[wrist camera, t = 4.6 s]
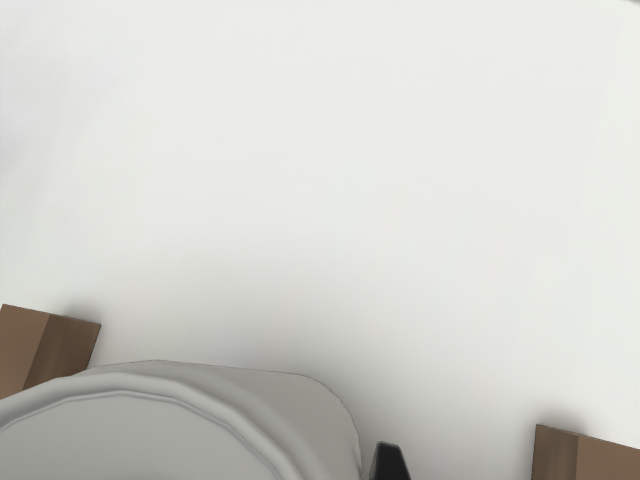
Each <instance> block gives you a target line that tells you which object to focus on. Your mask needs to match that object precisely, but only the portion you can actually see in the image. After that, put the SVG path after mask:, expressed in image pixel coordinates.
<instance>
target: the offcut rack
mask: <svg viewBox="0 0 640 480" xmlns="http://www.w3.org/2000/svg"><path fill="white" fill-rule="evenodd" d="M100 326H101V325H100V324H96V323H91V322H87V321H83V320H78V319H74V318H69V317H65V316H61V315H56V314H51V313H46V312H41V311H36V310H31V309H26V308H21V307H17V306H12V305H7V304H3V305H2V308H1V310H0V400H1V399H4V398H7V397H9V396H12V395H14V394H17V393H19V392H22V391H24V390H27V389H29V388H32V387H34V386H37V385H39V384H42V383H44V382H47V381H50V380H52V379H55V378H59V377H68V376H72V375H75V374H77V373H80V372H82V371H85V370H86V367H87V365H88V362H89V359H90V356H91V353H92V350H93V347H94V344H95V341H96V338H97V335H98V332H99V329H100ZM531 480H640V449H636V448H632V447H628V446H624V445H620V444H617V443H613V442H609V441H605V440H601V439H597V438H594V437H590V436H585V435H581V434H577V433H572V432H568V431H564V430H559V429H555V428H551V427H546V426H542V425H536V436H535V447H534V458H533V468H532V479H531Z"/></svg>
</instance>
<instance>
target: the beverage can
mask: <svg viewBox="0 0 640 480" xmlns="http://www.w3.org/2000/svg"><path fill="white" fill-rule="evenodd" d="M0 480H363V474H362V462H361V453H360V444H359V436H358V433H357V430H356V427H355V425H354V422H353V419H352V417H351V414H350V413H349V412H348V410H347V409H346V407H345V406H344V404H343V403H342V402H341V400H340V399H339V397H337V396H336V395H335V394H334V393H333V392H331V391H330V390H329V389H328V388H327V387H326V386H324V385H323V384H321V383H319V382H317V381H314V380H312V379H310V378H308V377H306V376H301V375H294V374H288V373H280V372H270V371H260V370H251V369H241V368H231V367H222V366H212V365H203V364H193V363H183V362H174V361H164V360H148V361H139V362H130V363H121V364H112V365H103V366H95V367H92V368H90V369H87V370H85V371H82V372H80V373H77V374H75V375H72V376H68V377H59V378H55V379H52V380H50V381H47V382H44V383H42V384H39V385H37V386H34V387H32V388H29V389H27V390H24V391H22V392H19V393H17V394H14V395H12V396H9V397H7V398H4V399H1V400H0Z"/></svg>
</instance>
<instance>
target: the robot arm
mask: <svg viewBox="0 0 640 480" xmlns="http://www.w3.org/2000/svg"><path fill="white" fill-rule="evenodd" d="M369 480H411V477H410V474H409V471H408V468H407V466H406V463H405V460H404V457H403V454H402V451H401V449H400V447H399V446H398V445H395V444H391V443H387V442H383V441H380V442H378V443H377V446H376V450H375V454H374V458H373V462H372V466H371V470H370V476H369Z"/></svg>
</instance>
